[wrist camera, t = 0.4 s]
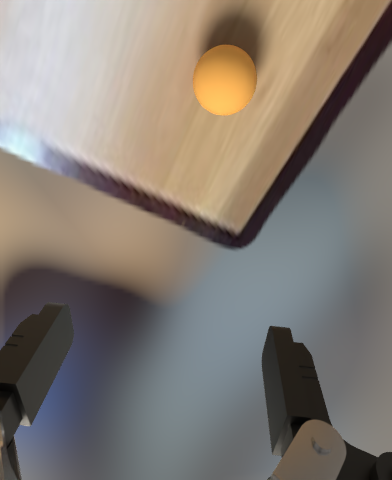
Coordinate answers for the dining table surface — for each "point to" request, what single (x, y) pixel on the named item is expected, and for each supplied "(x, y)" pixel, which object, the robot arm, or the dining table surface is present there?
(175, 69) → the dining table surface
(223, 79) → the ball
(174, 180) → the dining table surface
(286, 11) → the dining table surface
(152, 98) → the dining table surface
